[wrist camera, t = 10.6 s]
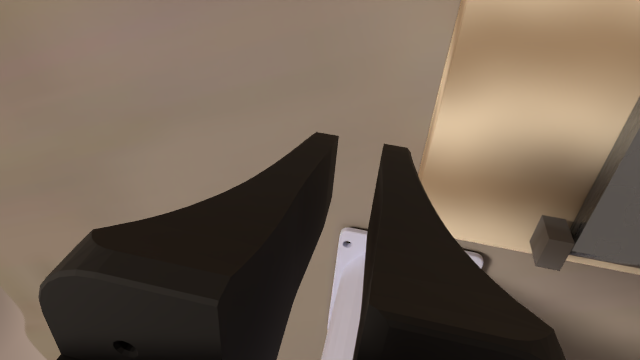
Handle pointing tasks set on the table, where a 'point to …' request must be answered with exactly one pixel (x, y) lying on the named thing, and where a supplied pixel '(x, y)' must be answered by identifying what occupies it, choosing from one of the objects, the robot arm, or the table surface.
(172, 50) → the table surface
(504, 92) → the board
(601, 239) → the gray rectangular block
